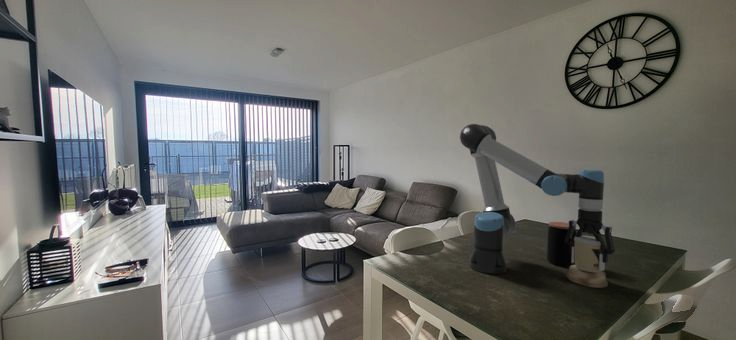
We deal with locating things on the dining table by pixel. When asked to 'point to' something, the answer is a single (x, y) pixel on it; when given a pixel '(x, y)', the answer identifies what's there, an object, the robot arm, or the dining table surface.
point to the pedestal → (587, 277)
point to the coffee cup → (587, 253)
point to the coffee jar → (559, 244)
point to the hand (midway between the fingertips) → (587, 266)
